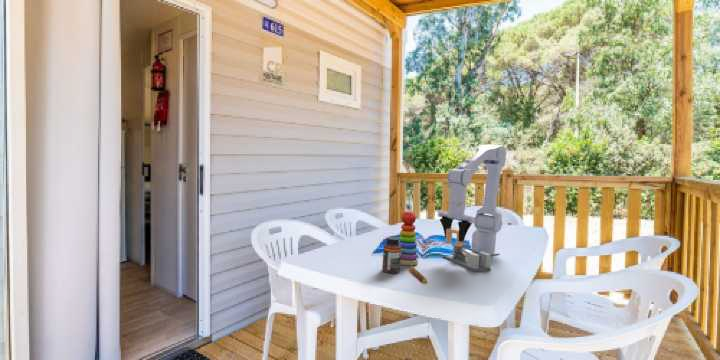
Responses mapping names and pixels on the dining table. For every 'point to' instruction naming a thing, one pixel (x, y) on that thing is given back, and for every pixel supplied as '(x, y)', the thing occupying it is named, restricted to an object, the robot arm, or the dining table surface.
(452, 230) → the block
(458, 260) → the rail
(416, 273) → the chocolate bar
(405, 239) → the stacking toy
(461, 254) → the shaft
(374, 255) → the dining table surface
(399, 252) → the supplement bottle
